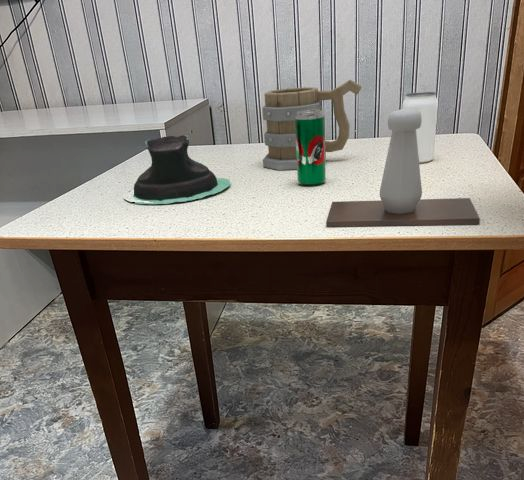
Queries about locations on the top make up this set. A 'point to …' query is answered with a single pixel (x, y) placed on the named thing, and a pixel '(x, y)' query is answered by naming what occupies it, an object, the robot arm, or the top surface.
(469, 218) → the dark brown board
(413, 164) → the salt shaker
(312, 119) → the soda can
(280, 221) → the top surface
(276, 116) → the tankard
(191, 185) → the dark flared mound
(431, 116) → the can
